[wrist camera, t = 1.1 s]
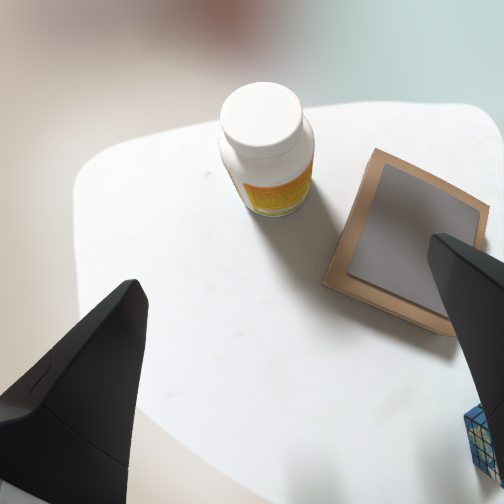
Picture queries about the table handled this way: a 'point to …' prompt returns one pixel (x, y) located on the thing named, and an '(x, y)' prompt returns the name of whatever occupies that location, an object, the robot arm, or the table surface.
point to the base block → (402, 240)
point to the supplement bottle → (267, 148)
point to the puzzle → (481, 443)
